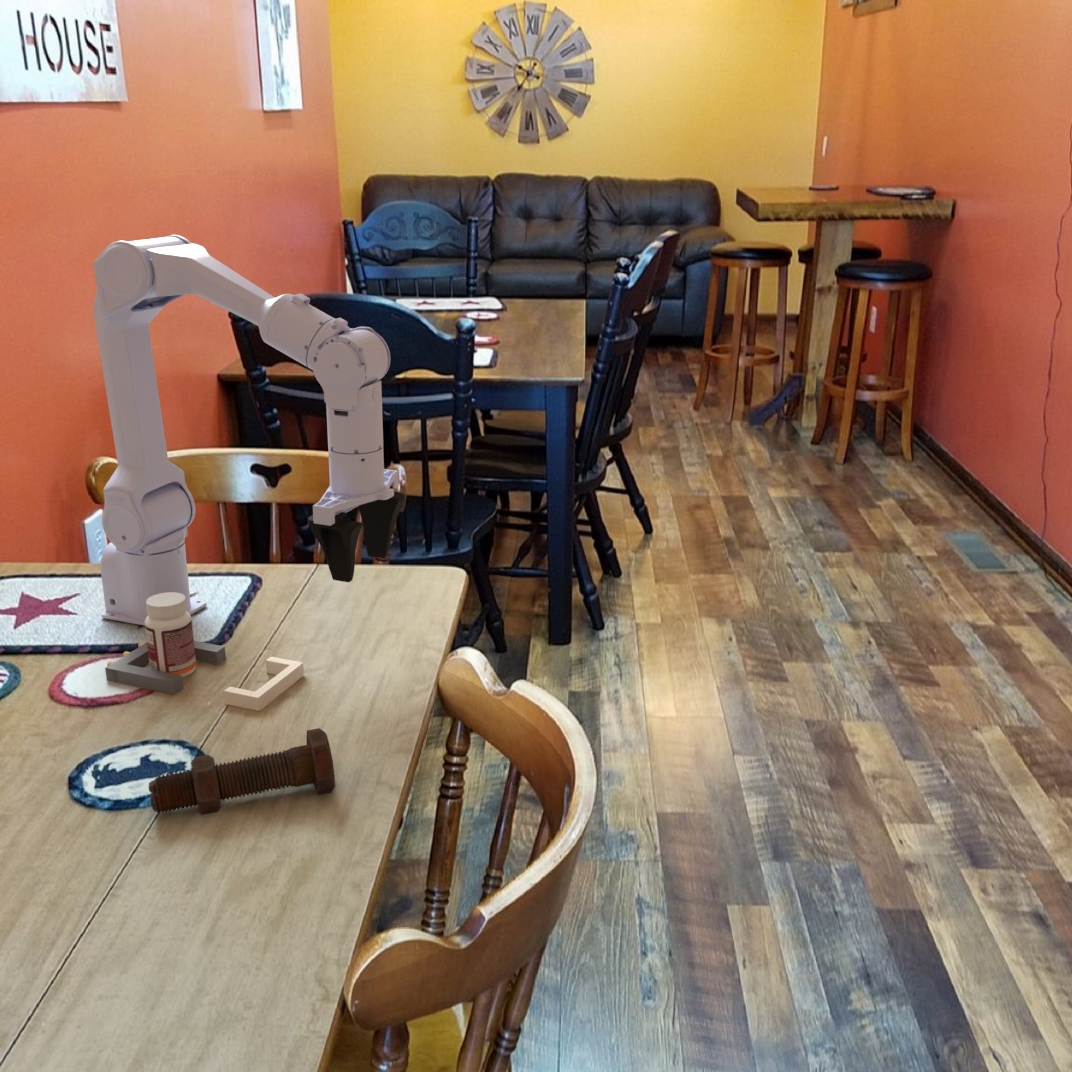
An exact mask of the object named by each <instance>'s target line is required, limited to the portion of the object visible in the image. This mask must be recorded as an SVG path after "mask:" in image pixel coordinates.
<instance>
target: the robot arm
mask: <svg viewBox="0 0 1072 1072" xmlns="http://www.w3.org/2000/svg"><path fill="white" fill-rule="evenodd" d="M92 263H93V264H92V265H93V270H94V276H95V284H96V292H95V297H94V303H93V318H94V319H93V320H94V325H95V329H96V337H97V343H98V349H99V355H100V361H101V367H102V374H103V379H104V380H103V381H104V387H105V392H106V393H105V394H106V398H107V399H106V400H107V404H108V411H109V417H110V423H111V424H110V425H111V431H112V435H113V436H112V438H113V441H114V449H115V455H116V461H117V462H116V463H117V467H116V469H115V470H114V472H113V473H112V475H111V476H110V478H109V480H108V481H107V483H106V484H105V486H104V488H103V490H102V491H103V492H102V493H103V496H104V507H103V509H102V513H101V526H102V529H103V532H104V534H105V536H106V537H107V539H108V540H109V541H110V542H109V543H108V544H107V545H106V547H105V548H104V549H103V551H102V555H101V558H100V574H101V575H100V576H101V585H102V591H103V598H104V599H103V600H104V607H105V611H103V612H102V613H101V616H100V617H101V618H103V619H106V620H107V619H108V620H113V621H117V622H123V623H128V624H133V625H139V626H144V627H145V625H144V623H145V619H146V617H147V616H148V614H147V609H146V600H147V599H148V598H149V597H151V596H153V595H156V594H160V593H166V592H177V593H181V594H183V595H184V596H185V597H186V604H187V610H186V611H187V612H189V614H190V615H193V614H195V613H196V612H198V611H200V610H201V609H203V608H205V607H206V606H207V604H208V603H207V601H205V600H199V599H195V598H191V592H190V584H189V582H190V581H189V573H188V565H187V564H188V562H187V553H186V552H187V551H186V543H185V539H186V537H188V527H189V526H190V525H191V524H192V522H193V521H194V519H195V516H196V503H195V500H194V498H193V495H192V493H191V492H190V490H189V488H188V486H187V483H186V478H185V472H184V471H183V469H182V468H180V467H178V466H177V465H176V464H174V463H172V462H171V461H170V460H169V457H168V450H167V443H166V435H165V431H164V430H165V429H164V422H163V417H162V416H163V414H162V407H161V401H160V396H159V387H158V381H157V380H158V379H157V374H156V368H155V361H154V353H153V345H152V338H151V334H150V333H151V331H150V324H151V322H152V321H153V320H155V318H156V317H157V315H158V314H159V313H160V312H161V311H163V309H164V308H165V307H166V306H167V305H168V304H169V303H171V302H173V301H175V300H177V299H179V298H181V297H183V296H186V295H195V296H198V297H200V298H202V299H204V300H206V301H208V302H209V303H211V304H214V305H216V306H217V307H220V308H222V309H224V310H226V311H228V312H230V313H232V314H234V315H236V316H238V317H240V318H242V319H244V320H247V321H248V322H250V323H252V324H254V325H256V326H258V330H259V334H260V337H261V339H262V341H263V342H264V343H265V344H267V345H268V346H270V347H272V348H274V349H275V350H276V351H279V352H281V354H282V353H283V354H284V355H286V356H287V357H289V358H290V359H293V360H294V361H296V362H297V363H300V364H301V365H303V366H305V367H306V368H308V369H310V370H311V371H313V372H312V373H313V374H314V377H315V379H316V381H317V382H318V383H319V384H320V387H321V388H322V391H323V396H324V397H323V399H324V403H325V406H326V407H325V408H326V409H325V410H326V428H327V447H328V448H327V449H328V468H329V469H328V470H329V471H328V472H329V473H328V474H329V486H328V488H327V489H326V491H325V492H324V493H323V495H322V496H321V498H320V499H319V501H318V502H316V503H314V504H313V505H312V515H310V516H309V517H307V527H308V529H309V530H310V531H311V532H312V534H313V535H314V536H315V538H316V540H317V541H318V543H319V545H320V546H321V550H322V551H323V554H324V556H325V559H326V562H327V566H328V569H329V572H330V576H331V577H332V580H333V581H339V582H342V583H344V582H345V583H351V582H352V581H353V578H354V575H355V565H356V564H355V562H356V550H357V544H358V539H359V536H360V533H361V532H362V528H363V534H364V543H365V549H366V553H367V556H368V557H371V558H378V559H386V558H387V557H388V554H389V551H390V545H391V541H392V537H393V533H394V528H395V524H396V521H397V519H398V517H399V515H400V511H401V510H402V508H403V506H404V504H405V502H406V494H405V493H404V492H400V491H395V489H397V488H398V487H399V471H398V470H394V469H388V468H387V469H386V468H385V463H384V461H385V459H384V456H385V455H384V429H383V428H384V427H383V426H384V425H383V421H384V420H383V395H382V392H383V391H382V380H381V379H383V378H384V377H385V375H386V374H387V373H388V371H389V368H390V366H391V352H390V348H389V346H388V344H387V342H386V340H385V339H384V338H383V337H382V335H380V334H379V333H378V332H376V331H375V330H374V329H373V328H372V327H369V326H358V327H355V328H351V327H349V325H348V323H349V322H348V321H347V320H346V319H343V318H342V317H338V318H335V317H333V316H331V315H329V314H327V313H326V312H324V311H322V310H320V309H318V308H317V307H315V306H313V305H311V304H310V301H311V298H310V297H309V296H307V295H305V294H303V293H297V294H291V293H284V294H281V295H278V296H276V297H274V296H273V295H271V294H270V293H268V292H267V291H266V290H264V289H262V288H261V287H259V286H257V284H255V283H253V282H251V281H250V280H248V279H247V278H245V277H243V276H242V275H241V274H239V273H237V271H234V270H232V268H230V267H228V266H227V265H226V264H224V263H222V262H221V261H219V260H217V259H216V258H214V257H213V256H212V255H210V253H208V251H207V249H206V247H204V246H203V245H200V244H198V243H194V242H193V243H192V241H190V240H189V239H187V238H186V237H184V236H181V235H179V234H169V235H166V236H162V237H154V238H147V239H137V240H129V241H127V240H117V241H114V242H112V243H110V244H108V245H107V246H106V247H105V248H104V250H103V251H102V252H101V253H100V254H99V255H98V256H97V258H96V259H95V260H94V261H93V262H92ZM356 508H357V509H358V511H359V514H360V518H361V522H360V521H353V520H350V516H349V517H347V513H348V512H350V511H352V510H353V509H356Z"/></svg>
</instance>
